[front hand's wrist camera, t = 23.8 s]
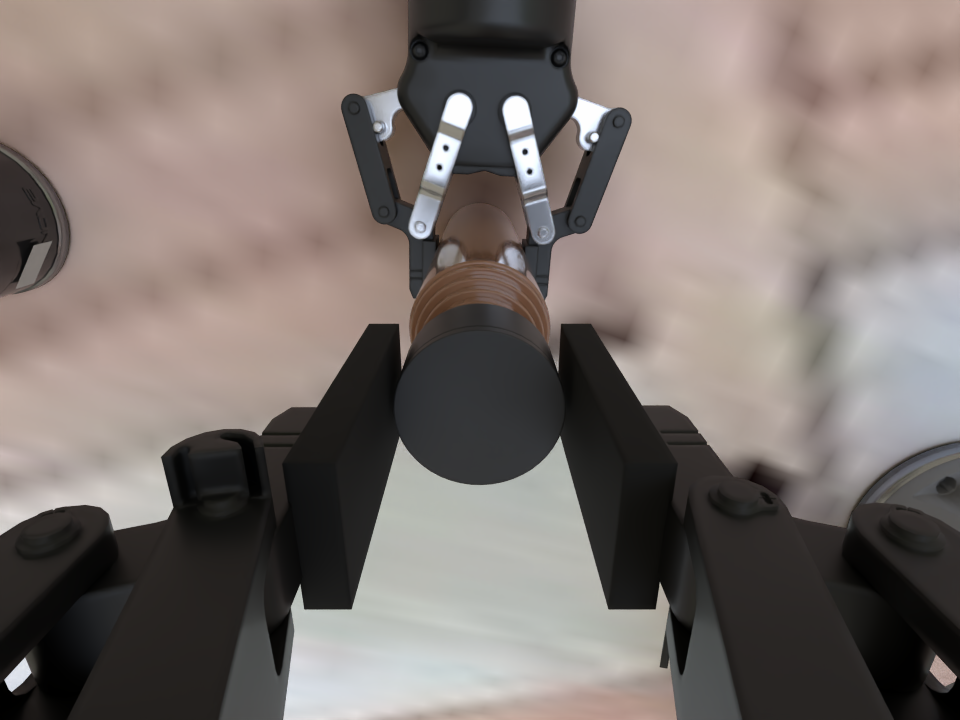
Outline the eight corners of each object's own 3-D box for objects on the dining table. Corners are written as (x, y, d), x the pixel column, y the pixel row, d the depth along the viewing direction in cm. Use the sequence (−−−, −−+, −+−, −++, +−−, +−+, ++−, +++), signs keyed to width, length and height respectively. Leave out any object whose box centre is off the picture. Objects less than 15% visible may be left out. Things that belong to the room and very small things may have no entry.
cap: (583, 384, 14) (600, 423, 12) (469, 464, 15) (467, 513, 13) (491, 270, 13) (493, 293, 11) (374, 364, 14) (356, 400, 12)
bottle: (527, 256, 35) (604, 435, 13) (464, 286, 36) (439, 503, 14) (496, 189, 33) (527, 269, 12) (431, 223, 34) (347, 355, 13)
